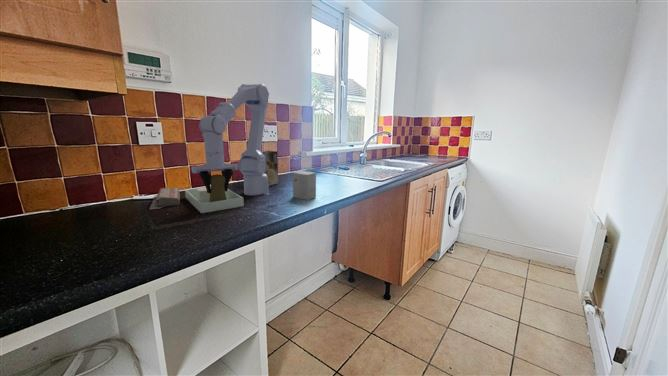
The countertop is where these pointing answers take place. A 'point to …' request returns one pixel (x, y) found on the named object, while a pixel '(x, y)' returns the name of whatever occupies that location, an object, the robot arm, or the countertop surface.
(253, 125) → the robot arm
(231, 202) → the box
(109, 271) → the countertop surface
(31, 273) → the countertop surface
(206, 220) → the countertop surface
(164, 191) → the packaged product
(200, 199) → the white box
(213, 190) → the brown rounded lobed piece
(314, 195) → the small box
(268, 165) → the coffee box
